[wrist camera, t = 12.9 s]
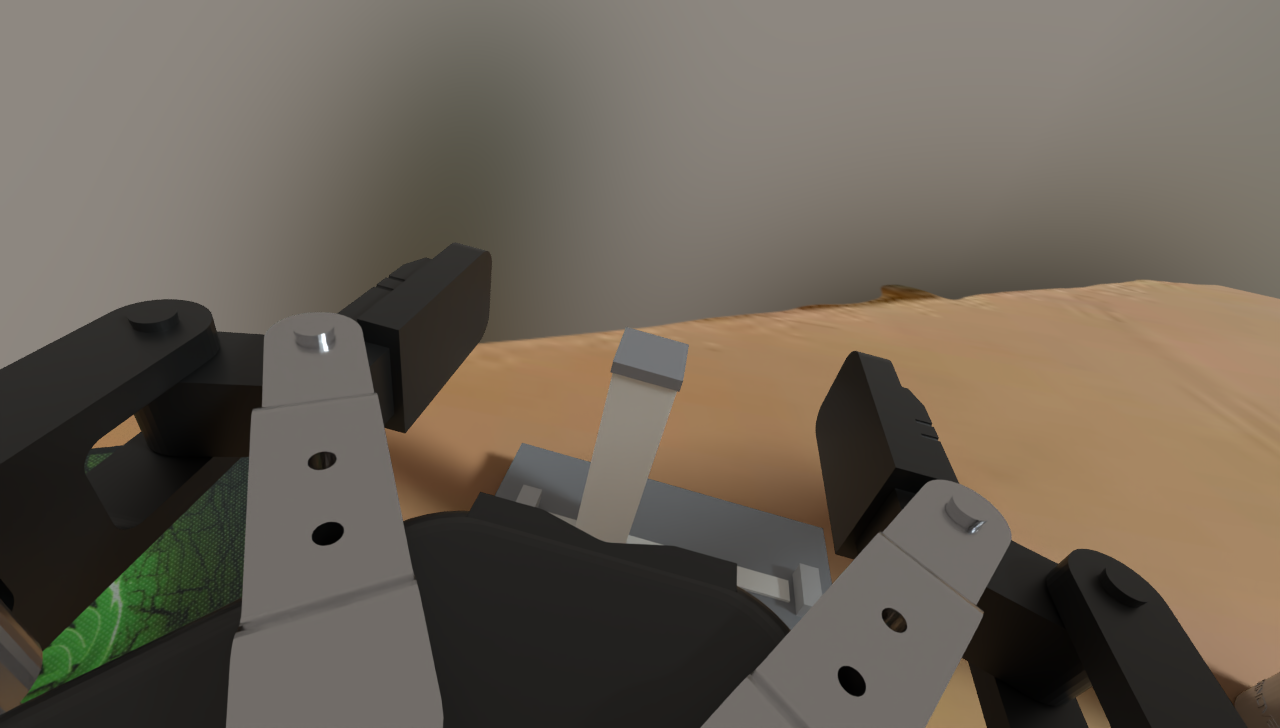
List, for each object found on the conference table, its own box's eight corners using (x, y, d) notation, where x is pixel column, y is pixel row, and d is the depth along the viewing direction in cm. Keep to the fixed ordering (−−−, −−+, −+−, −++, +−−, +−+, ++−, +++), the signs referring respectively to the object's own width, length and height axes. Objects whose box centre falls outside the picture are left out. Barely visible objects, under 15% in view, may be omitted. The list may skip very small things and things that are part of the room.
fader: (630, 521, 34) (688, 344, 26) (620, 564, 31) (683, 381, 24) (581, 507, 34) (626, 326, 26) (567, 549, 31) (613, 361, 24)
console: (808, 549, 39) (830, 517, 37) (831, 731, 29) (862, 701, 27) (518, 467, 39) (524, 430, 37) (442, 620, 29) (443, 581, 27)
